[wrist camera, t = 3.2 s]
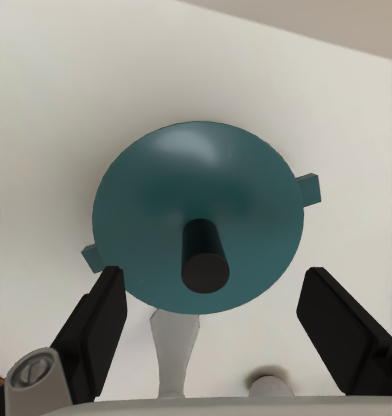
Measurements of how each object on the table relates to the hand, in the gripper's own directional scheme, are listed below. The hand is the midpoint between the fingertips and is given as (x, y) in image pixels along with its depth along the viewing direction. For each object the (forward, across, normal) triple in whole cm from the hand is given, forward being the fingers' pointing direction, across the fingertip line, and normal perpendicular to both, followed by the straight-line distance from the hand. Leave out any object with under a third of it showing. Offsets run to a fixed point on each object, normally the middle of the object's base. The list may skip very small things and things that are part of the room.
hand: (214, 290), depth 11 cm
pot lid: (+7, 0, 0) cm, 7 cm away
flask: (+14, +3, +18) cm, 24 cm away
